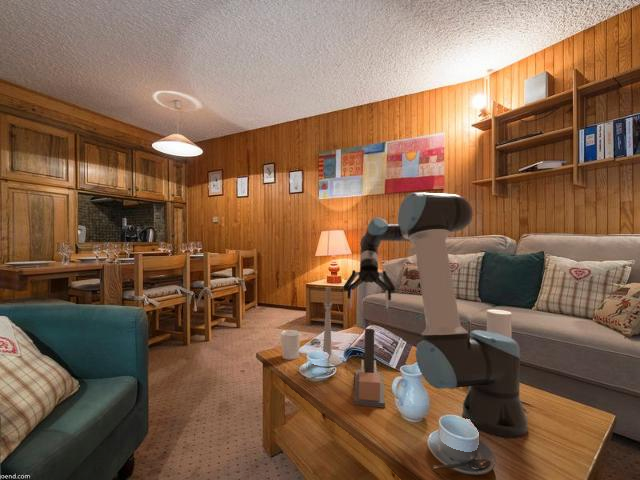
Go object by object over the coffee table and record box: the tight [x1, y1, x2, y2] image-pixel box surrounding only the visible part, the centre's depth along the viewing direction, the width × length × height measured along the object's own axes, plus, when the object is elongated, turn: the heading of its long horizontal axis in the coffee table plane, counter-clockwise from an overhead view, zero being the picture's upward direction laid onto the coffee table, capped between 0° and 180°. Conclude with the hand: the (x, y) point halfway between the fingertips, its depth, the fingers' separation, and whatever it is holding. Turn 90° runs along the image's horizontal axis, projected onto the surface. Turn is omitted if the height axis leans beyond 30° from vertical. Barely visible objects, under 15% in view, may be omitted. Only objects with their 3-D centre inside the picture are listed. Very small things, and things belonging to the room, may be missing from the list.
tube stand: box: [353, 359, 386, 408], centre depth 99 cm, size 22×9×6 cm, turn 172°
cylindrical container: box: [486, 308, 513, 338], centre depth 101 cm, size 7×7×25 cm
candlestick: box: [322, 286, 344, 367], centre depth 121 cm, size 13×13×30 cm
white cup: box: [280, 329, 301, 360], centre depth 125 cm, size 8×8×10 cm
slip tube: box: [364, 328, 375, 373], centre depth 97 cm, size 12×3×17 cm, turn 172°
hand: (369, 306), depth 114 cm, fingers open, 13 cm apart
